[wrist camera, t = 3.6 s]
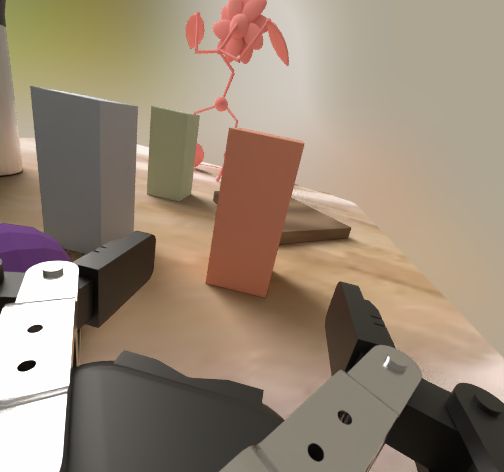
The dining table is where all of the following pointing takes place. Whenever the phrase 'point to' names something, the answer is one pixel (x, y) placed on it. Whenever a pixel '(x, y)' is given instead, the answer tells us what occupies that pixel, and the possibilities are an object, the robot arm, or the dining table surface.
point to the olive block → (171, 153)
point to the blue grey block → (85, 167)
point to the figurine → (235, 43)
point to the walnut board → (307, 224)
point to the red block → (252, 209)
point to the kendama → (27, 248)
